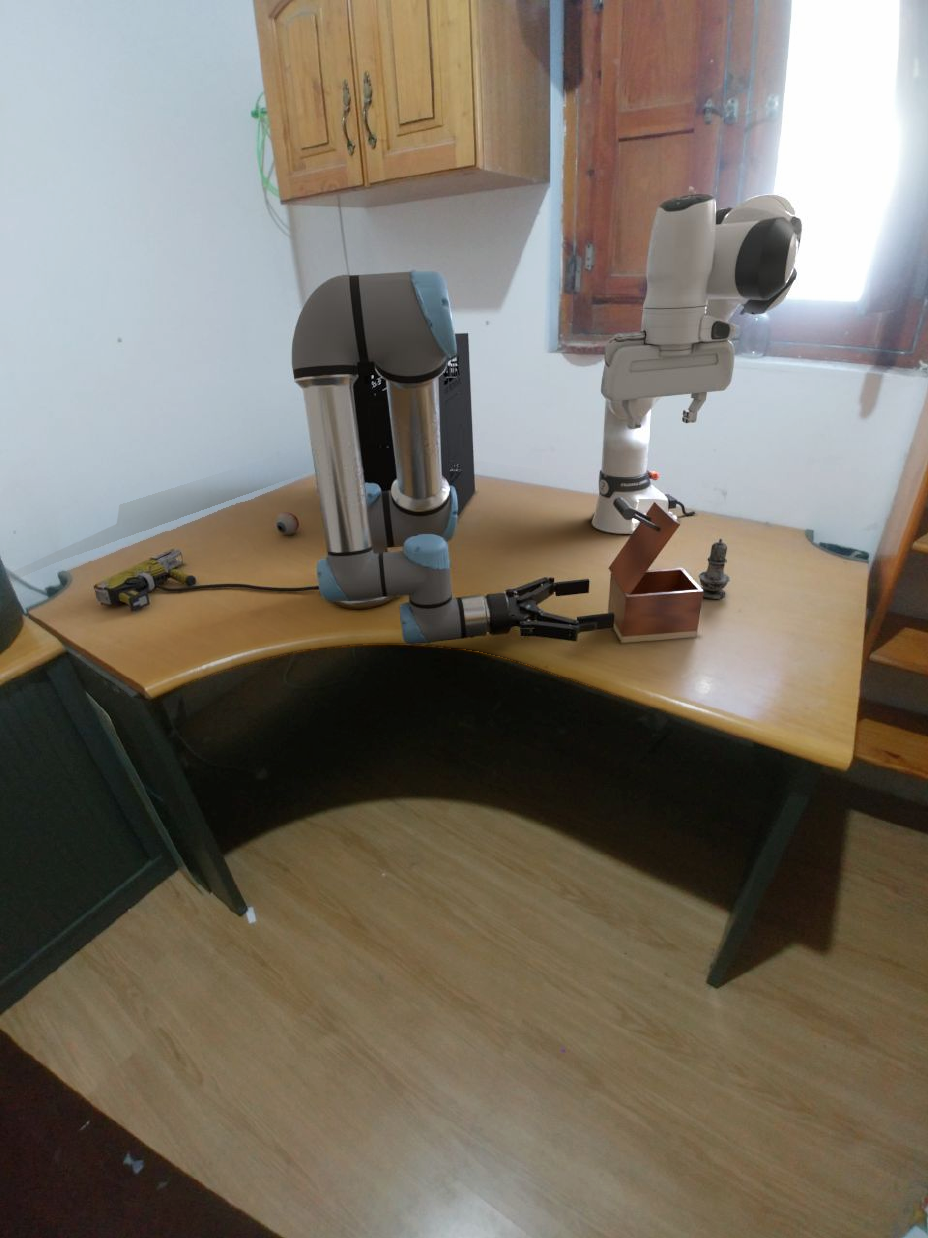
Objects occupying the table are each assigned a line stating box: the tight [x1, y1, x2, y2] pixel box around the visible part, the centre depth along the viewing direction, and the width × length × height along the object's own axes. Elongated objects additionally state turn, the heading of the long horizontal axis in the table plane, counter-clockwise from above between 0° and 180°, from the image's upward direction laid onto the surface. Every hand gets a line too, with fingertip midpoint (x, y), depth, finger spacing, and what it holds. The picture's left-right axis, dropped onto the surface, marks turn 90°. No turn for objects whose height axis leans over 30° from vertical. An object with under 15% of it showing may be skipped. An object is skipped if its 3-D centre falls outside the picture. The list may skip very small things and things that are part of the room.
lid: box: [608, 497, 681, 595], centre depth 105 cm, size 14×10×9 cm
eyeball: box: [275, 511, 300, 536], centre depth 163 cm, size 6×6×6 cm
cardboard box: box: [353, 332, 476, 519], centre depth 164 cm, size 38×20×45 cm, turn 167°
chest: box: [607, 567, 704, 644], centre depth 112 cm, size 14×10×10 cm
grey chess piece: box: [698, 538, 731, 600], centre depth 121 cm, size 6×6×12 cm
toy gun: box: [93, 548, 197, 612], centre depth 139 cm, size 5×24×15 cm
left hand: (600, 602), depth 111 cm, fingers open, 13 cm apart
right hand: (661, 425), depth 95 cm, fingers open, 8 cm apart
